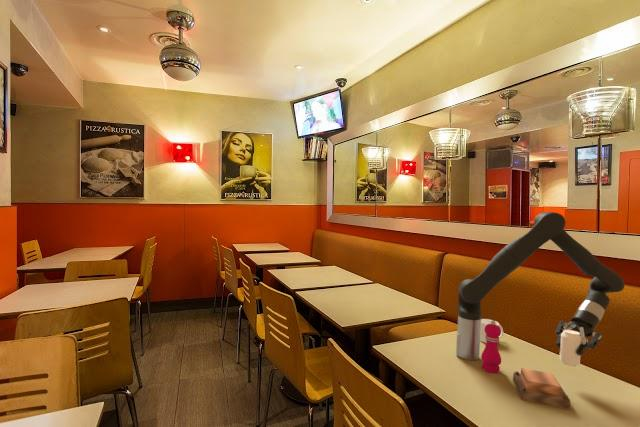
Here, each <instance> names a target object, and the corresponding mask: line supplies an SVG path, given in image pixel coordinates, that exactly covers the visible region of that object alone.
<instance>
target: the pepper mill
mask: <svg viewBox="0 0 640 427" xmlns="http://www.w3.org/2000/svg"><path fill="white" fill-rule="evenodd" d="M491 320H492V321H491V324H488V325H486V326H485V333H486V334H487V335H486V340H487V343H485V347H484V349H483V351H482V353H481V356H480V358H481V361H482V364H481V368H482V369H483V370H484V372H487V373H490V374H491V373H492V374H498V373H499V372H500V366H499V365H501V364H502V357H501V354H500V352H499V347H498V343H499V342H500V338H499V336H500V335H501V329H500V327H499V326H497V325H495V324H496V322H497V321H496V320H493V319H491ZM495 321H496V322H495Z"/></svg>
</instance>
